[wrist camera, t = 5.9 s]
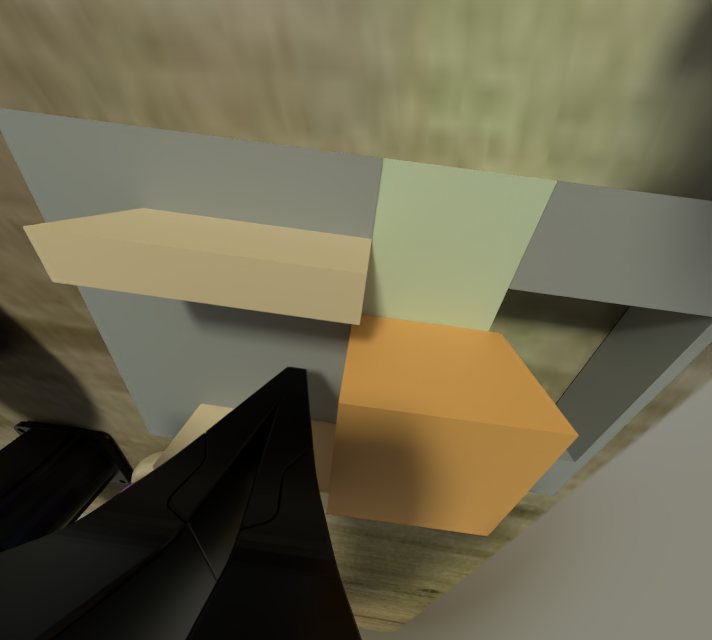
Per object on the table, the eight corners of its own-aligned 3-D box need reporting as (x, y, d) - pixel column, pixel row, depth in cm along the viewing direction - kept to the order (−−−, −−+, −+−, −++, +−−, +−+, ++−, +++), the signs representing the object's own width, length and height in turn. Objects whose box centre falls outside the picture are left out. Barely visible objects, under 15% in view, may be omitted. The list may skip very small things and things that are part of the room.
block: (454, 427, 12) (487, 536, 8) (341, 411, 12) (326, 513, 8) (500, 332, 9) (578, 435, 5) (353, 313, 9) (338, 403, 5)
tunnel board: (529, 450, 16) (593, 572, 11) (181, 399, 16) (97, 495, 11) (723, 205, 8) (1153, 249, 4) (84, 122, 9) (-258, 65, 4)
